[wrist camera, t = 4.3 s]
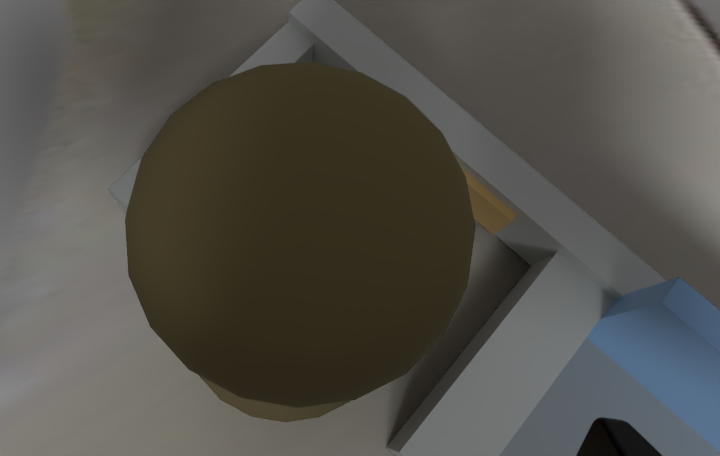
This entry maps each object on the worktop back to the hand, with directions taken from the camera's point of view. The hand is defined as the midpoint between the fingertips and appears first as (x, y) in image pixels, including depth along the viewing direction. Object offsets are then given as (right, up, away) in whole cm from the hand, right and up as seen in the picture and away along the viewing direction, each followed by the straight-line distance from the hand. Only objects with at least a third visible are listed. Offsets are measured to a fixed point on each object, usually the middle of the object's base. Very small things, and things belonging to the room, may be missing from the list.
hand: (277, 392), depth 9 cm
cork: (-1, 0, +10) cm, 10 cm away
